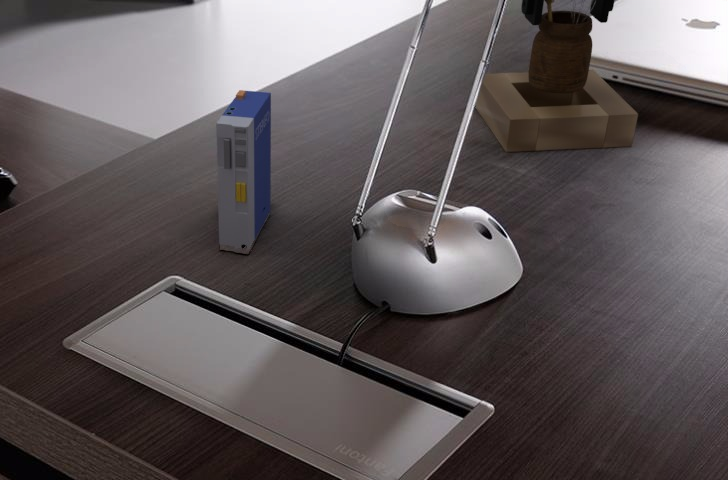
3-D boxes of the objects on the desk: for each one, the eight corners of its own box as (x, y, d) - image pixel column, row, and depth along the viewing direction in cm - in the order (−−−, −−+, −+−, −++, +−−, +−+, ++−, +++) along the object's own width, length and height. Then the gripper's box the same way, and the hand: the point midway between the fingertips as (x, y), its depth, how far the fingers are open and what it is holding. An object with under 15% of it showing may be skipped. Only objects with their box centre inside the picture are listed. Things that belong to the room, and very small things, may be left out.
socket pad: (587, 99, 121) (592, 69, 119) (632, 146, 110) (638, 113, 108) (472, 104, 120) (476, 74, 118) (505, 152, 109) (510, 119, 107)
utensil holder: (598, 89, 111) (619, -30, 105) (546, 99, 109) (564, -22, 103) (563, 71, 116) (581, -44, 109) (513, 80, 114) (528, -37, 107)
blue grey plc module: (241, 211, 99) (239, 86, 93) (270, 215, 99) (271, 88, 92) (217, 252, 93) (213, 120, 86) (248, 256, 92) (247, 123, 86)
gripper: (514, -167, 95) (490, 35, 105) (705, -172, 96) (664, 28, 106) (491, -180, 102) (470, 12, 112) (671, -185, 103) (634, 5, 112)
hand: (565, 18), depth 109 cm, fingers closed on utensil holder, 6 cm apart
